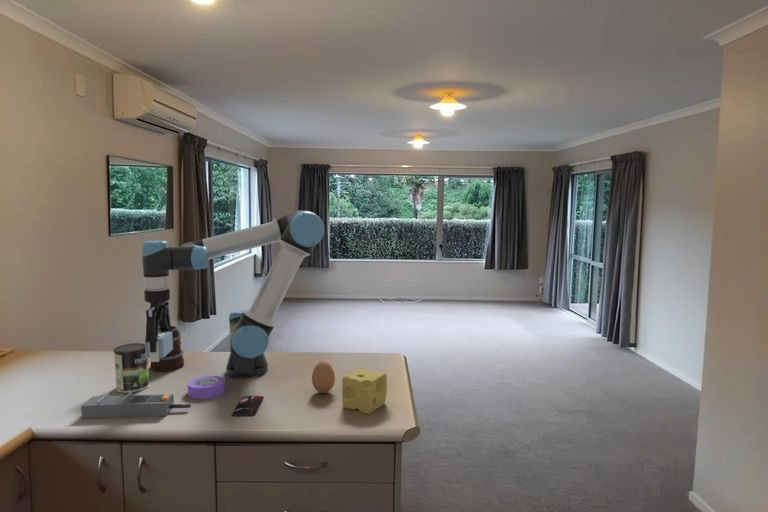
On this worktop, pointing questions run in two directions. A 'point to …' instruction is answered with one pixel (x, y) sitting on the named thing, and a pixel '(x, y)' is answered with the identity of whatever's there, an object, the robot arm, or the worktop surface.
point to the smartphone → (248, 406)
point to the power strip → (129, 406)
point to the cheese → (364, 390)
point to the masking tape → (206, 387)
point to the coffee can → (131, 368)
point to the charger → (162, 344)
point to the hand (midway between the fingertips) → (160, 356)
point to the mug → (171, 355)
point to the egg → (323, 377)
